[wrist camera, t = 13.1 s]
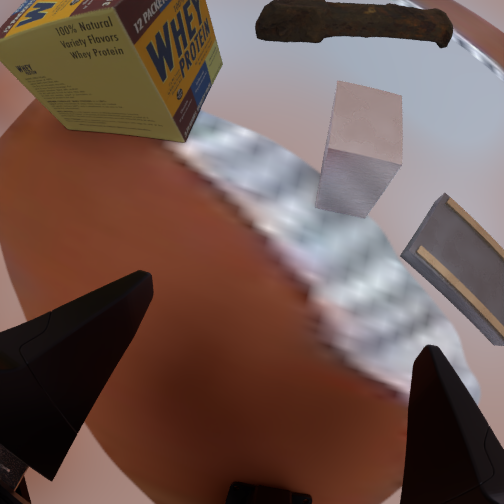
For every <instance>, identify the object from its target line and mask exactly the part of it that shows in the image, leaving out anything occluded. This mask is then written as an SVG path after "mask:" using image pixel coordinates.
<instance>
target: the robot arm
mask: <svg viewBox="0 0 504 504" xmlns="http://www.w3.org/2000/svg"><path fill="white" fill-rule="evenodd" d="M152 298H153V281H152V275H151V274H150V273H149V272H145V271H142V270H138V271H136V272H134V273H131V274H129V275H127V276H125V277H123V278H120V279H118V280H116V281H114V282H112V283H110V284H107V285H105V286H103V287H101V288H99V289H97V290H94V291H92V292H90V293H88V294H86V295H84V296H81V297H79V298H77V299H75V300H73V301H71V302H69V303H67V304H64V305H62V306H60V307H58V308H56V309H54V310H52V312H51V311H50V312H48V313H45V314H43V315H41V316H39V317H37V318H35V319H32V320H30V321H28V322H25V323H23V324H21V325H18V326H16V327H13V328H10V329H8V330H5V331H2V332H0V504H31V500H30V497H29V493H28V489H27V485H26V481H25V477H24V475H25V473H26V471H27V469H28V468H29V467H31V468H32V469H34V470H35V471H37V472H38V473H39V474H41V475H42V476H44V477H45V478H47V479H48V480H50V481H53V479H54V477H55V475H56V473H57V471H58V469H59V468H60V466H61V464H62V462H63V460H64V458H65V456H66V454H67V452H68V450H69V449H70V447H71V445H72V443H73V441H74V439H75V438H76V436H77V433H78V432H79V430H80V428H81V426H82V425H83V423H84V421H85V419H86V417H87V416H88V414H89V412H90V410H91V409H92V407H93V405H94V403H95V402H96V400H97V398H98V396H99V395H100V393H101V391H102V389H103V388H104V386H105V384H106V383H107V381H108V379H109V377H110V376H111V374H112V372H113V371H114V369H115V367H116V366H117V364H118V362H119V361H120V359H121V357H122V356H123V354H124V352H125V351H126V349H127V347H128V346H129V344H130V343H131V341H132V339H133V337H134V336H135V334H136V332H137V330H138V328H139V325H140V323H141V321H142V319H143V317H144V315H145V313H146V311H147V309H148V307H149V304H150V302H151V300H152ZM234 486H238V487H239V489H236V488H234ZM305 499H307V500H308V501H307V502H304V501H303V500H305ZM225 504H312V497H311V496H310V495H306V494H299V493H292V492H290V491H288V490H282V489H276V488H271V487H266V486H261V485H259V486H255V485H250V484H246V483H241V482H233V483H232V484H231V486H230V489H229V492H228V496H227V499H226V503H225ZM400 504H504V449H503V448H502V446H501V445H500V443H499V441H498V440H497V438H496V436H495V434H494V433H493V431H492V429H491V428H490V426H489V425H488V423H487V421H486V419H485V417H484V416H483V414H482V413H481V411H480V409H479V408H478V406H477V404H476V403H475V401H474V400H473V398H472V396H471V395H470V393H469V392H468V390H467V388H466V387H465V385H464V384H463V382H462V381H461V379H460V378H459V376H458V375H457V373H456V372H455V370H454V369H453V367H452V366H451V364H450V363H449V361H448V360H447V358H446V357H445V355H444V354H443V353H442V351H441V350H440V348H439V347H438V346H434V345H426V346H425V347H424V348H423V350H422V351H421V353H420V354H419V355H418V357H417V358H416V360H415V361H414V364H413V371H412V380H411V389H410V398H409V406H408V426H407V443H406V456H405V467H404V476H403V485H402V493H401V500H400Z"/></svg>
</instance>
